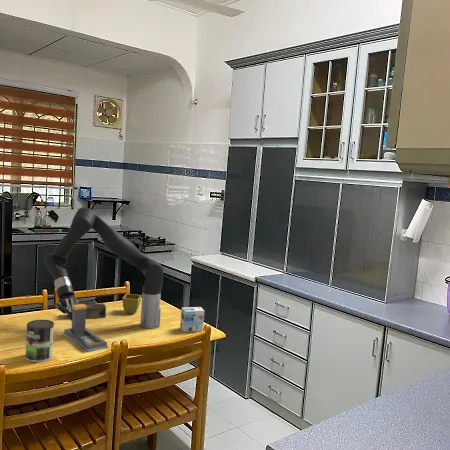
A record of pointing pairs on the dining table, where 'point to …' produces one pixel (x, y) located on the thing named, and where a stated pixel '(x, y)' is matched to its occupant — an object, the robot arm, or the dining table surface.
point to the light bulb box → (192, 319)
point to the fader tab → (78, 318)
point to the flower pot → (131, 303)
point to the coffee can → (39, 340)
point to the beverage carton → (95, 310)
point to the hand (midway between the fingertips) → (73, 320)
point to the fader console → (86, 340)
